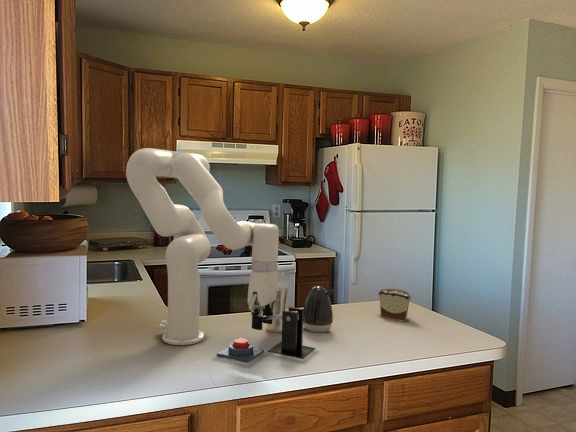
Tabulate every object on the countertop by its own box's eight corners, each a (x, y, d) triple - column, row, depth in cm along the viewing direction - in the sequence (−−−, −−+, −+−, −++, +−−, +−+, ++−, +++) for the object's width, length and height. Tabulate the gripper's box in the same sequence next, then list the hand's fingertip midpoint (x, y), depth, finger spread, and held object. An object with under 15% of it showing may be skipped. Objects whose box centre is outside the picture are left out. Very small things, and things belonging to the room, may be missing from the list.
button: (231, 347, 132) (231, 341, 132) (238, 343, 136) (238, 337, 136) (243, 350, 131) (243, 344, 131) (250, 345, 134) (251, 339, 134)
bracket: (267, 354, 136) (268, 310, 135) (281, 345, 144) (282, 303, 143) (302, 362, 131) (304, 316, 130) (315, 352, 140) (316, 309, 138)
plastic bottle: (276, 327, 160) (278, 269, 159) (291, 333, 155) (293, 272, 154) (262, 331, 156) (264, 271, 154) (276, 337, 151) (278, 274, 149)
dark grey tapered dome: (331, 337, 152) (333, 290, 151) (299, 334, 154) (300, 288, 153) (334, 328, 162) (336, 283, 161) (304, 325, 164) (305, 281, 163)
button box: (216, 359, 132) (216, 346, 131) (234, 349, 140) (234, 337, 139) (248, 366, 127) (248, 353, 127) (264, 355, 135) (264, 343, 135)
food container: (414, 318, 176) (416, 291, 175) (409, 322, 171) (410, 295, 170) (383, 312, 183) (384, 286, 182) (376, 316, 177) (378, 289, 177)
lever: (257, 324, 139) (255, 316, 139) (266, 319, 144) (264, 311, 144) (293, 322, 134) (292, 314, 134) (301, 317, 139) (300, 309, 139)
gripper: (267, 260, 149) (264, 316, 151) (238, 269, 134) (235, 332, 135) (288, 263, 146) (286, 320, 148) (261, 272, 131) (259, 337, 132)
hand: (262, 325), depth 142 cm, fingers closed on lever, 5 cm apart
